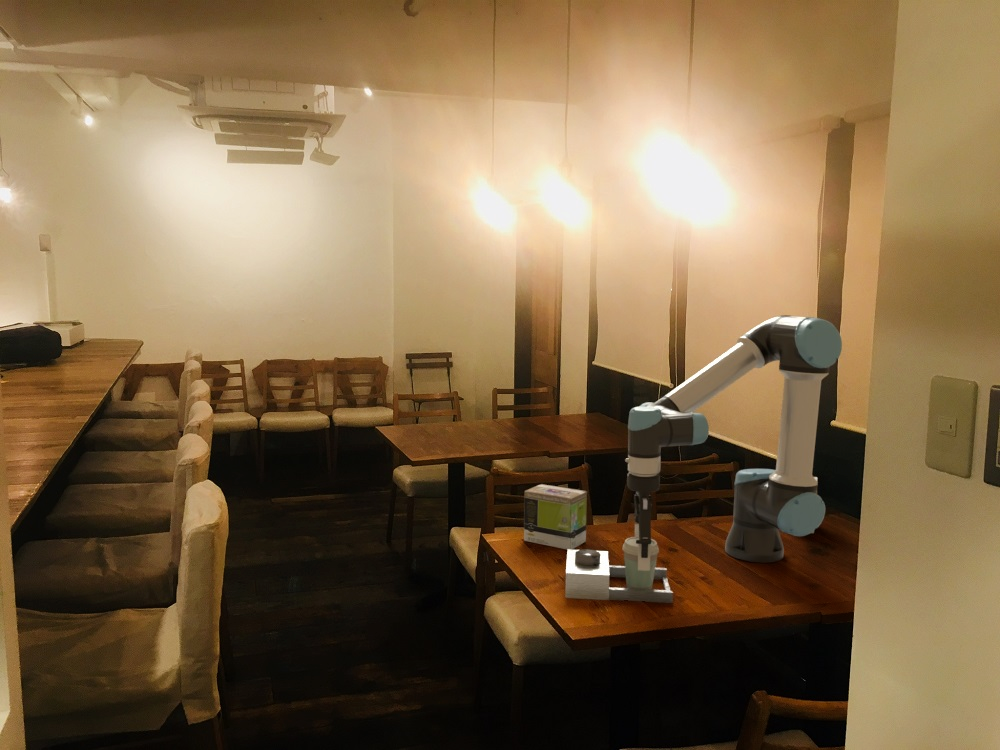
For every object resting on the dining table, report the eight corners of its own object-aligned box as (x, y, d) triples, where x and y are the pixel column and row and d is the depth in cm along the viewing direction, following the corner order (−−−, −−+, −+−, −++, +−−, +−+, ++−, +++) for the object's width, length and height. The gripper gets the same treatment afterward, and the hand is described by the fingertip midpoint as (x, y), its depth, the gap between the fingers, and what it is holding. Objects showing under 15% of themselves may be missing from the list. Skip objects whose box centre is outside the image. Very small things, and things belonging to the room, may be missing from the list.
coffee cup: (657, 599, 187) (659, 549, 185) (620, 595, 188) (621, 546, 187) (657, 585, 195) (659, 537, 193) (622, 582, 197) (623, 534, 195)
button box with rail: (665, 577, 200) (667, 546, 199) (672, 603, 184) (673, 570, 183) (567, 572, 202) (567, 541, 201) (565, 597, 187) (566, 564, 186)
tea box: (586, 541, 226) (588, 490, 224) (570, 551, 217) (571, 498, 215) (540, 531, 234) (541, 482, 232) (522, 541, 225) (523, 490, 223)
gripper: (625, 459, 202) (623, 541, 205) (630, 486, 177) (628, 578, 180) (655, 460, 201) (653, 542, 204) (664, 487, 176) (662, 580, 179)
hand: (641, 559), depth 192 cm, fingers open, 13 cm apart
